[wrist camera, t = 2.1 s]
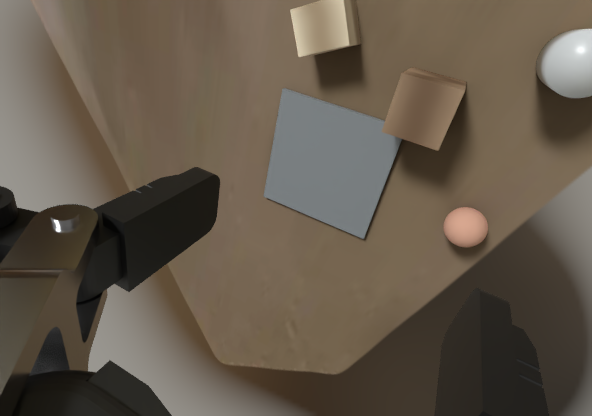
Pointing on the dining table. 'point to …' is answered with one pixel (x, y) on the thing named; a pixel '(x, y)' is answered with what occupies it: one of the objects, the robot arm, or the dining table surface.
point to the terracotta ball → (465, 227)
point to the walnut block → (423, 107)
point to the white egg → (567, 64)
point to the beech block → (325, 26)
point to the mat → (329, 162)
